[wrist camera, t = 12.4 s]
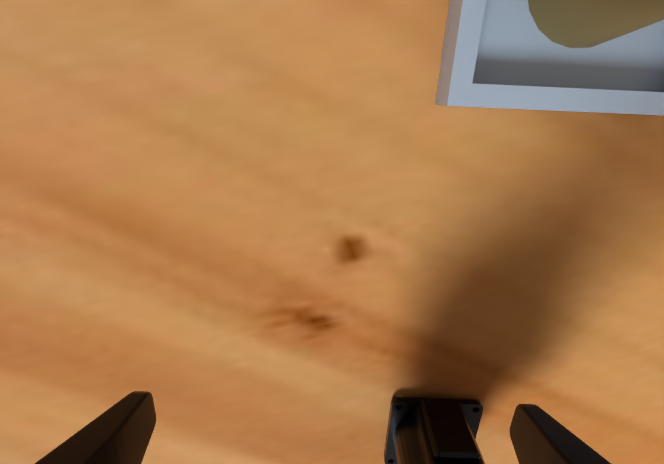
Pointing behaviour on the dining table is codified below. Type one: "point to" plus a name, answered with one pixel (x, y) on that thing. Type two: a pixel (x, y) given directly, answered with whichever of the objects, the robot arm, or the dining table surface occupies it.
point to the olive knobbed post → (593, 19)
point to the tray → (545, 65)
